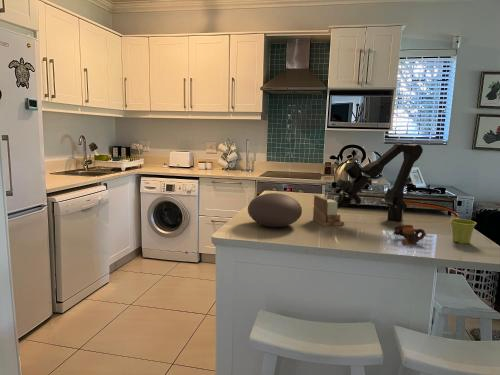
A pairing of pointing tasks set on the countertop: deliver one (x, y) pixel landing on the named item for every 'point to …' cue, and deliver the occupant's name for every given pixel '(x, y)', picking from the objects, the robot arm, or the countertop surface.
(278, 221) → the flattened ellipsoid
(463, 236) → the plant pot
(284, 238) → the countertop surface
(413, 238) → the pottery mug
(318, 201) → the walnut key housing
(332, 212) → the cream upright block
